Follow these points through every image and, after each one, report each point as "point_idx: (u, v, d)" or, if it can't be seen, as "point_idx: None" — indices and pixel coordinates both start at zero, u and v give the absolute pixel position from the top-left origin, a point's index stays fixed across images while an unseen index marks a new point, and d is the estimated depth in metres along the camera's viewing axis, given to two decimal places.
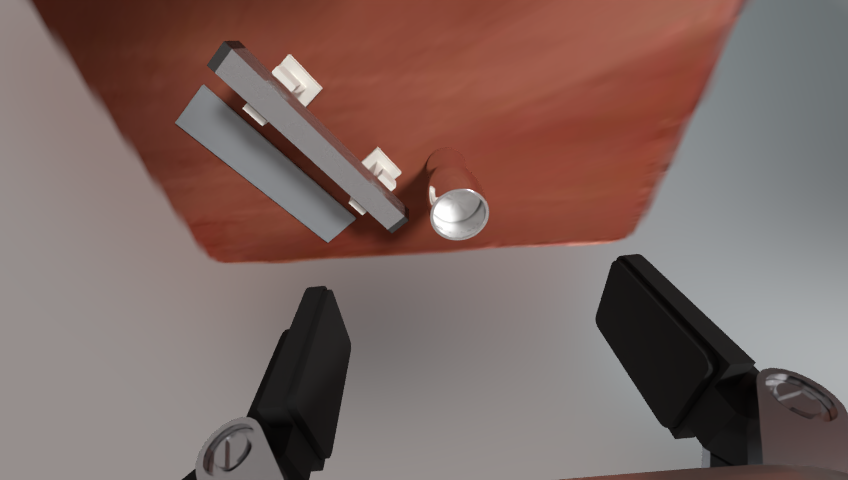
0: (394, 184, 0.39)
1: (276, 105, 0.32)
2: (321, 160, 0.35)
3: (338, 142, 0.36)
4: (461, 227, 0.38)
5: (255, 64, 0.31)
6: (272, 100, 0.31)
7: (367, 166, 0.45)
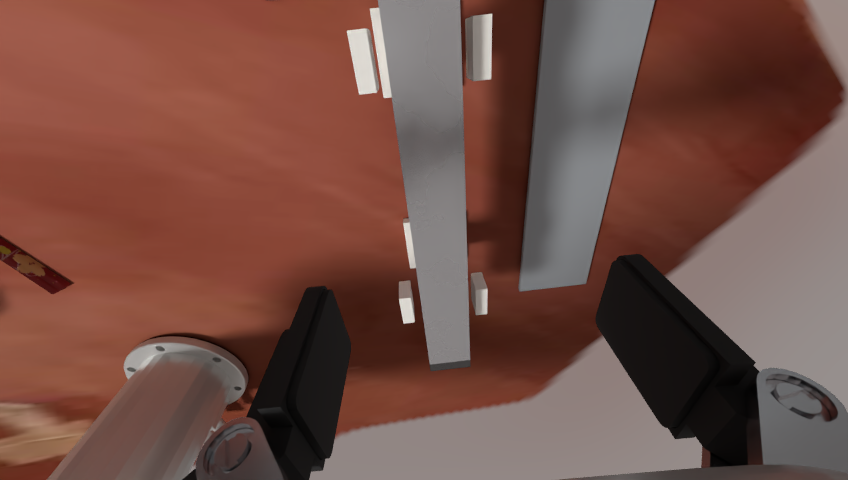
0: None
1: (438, 308, 0.20)
2: (450, 213, 0.16)
3: None
4: None
5: None
6: (437, 314, 0.20)
7: None
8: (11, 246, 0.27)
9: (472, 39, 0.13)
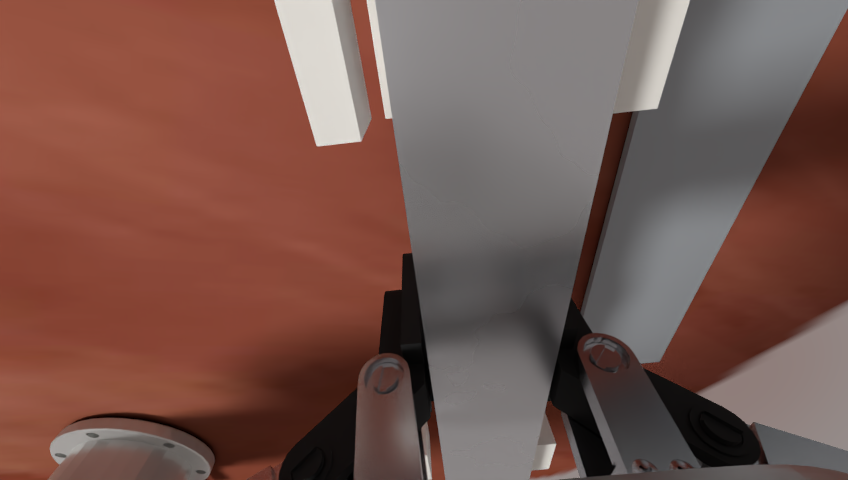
0: None
1: None
2: (520, 381, 0.08)
3: None
4: None
5: None
6: None
7: None
8: None
9: None
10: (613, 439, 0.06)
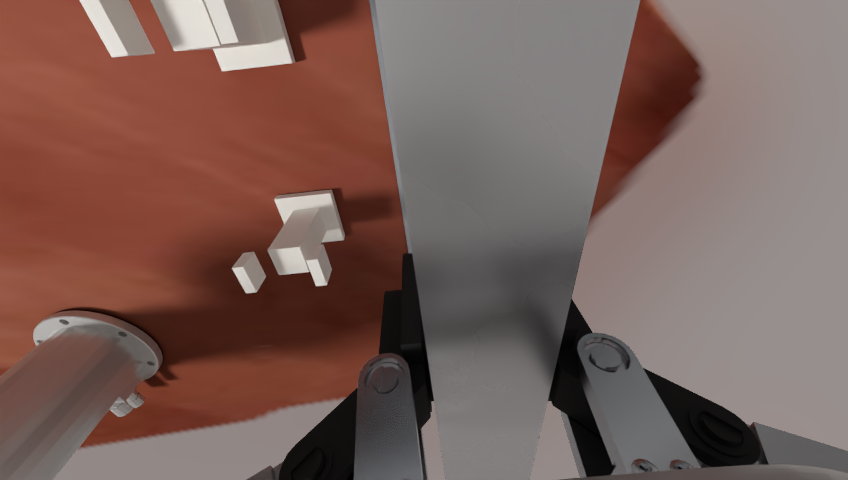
0: None
1: None
2: (521, 381, 0.08)
3: None
4: None
5: None
6: None
7: (258, 50, 0.21)
8: None
9: (207, 1, 0.14)
10: (613, 439, 0.06)
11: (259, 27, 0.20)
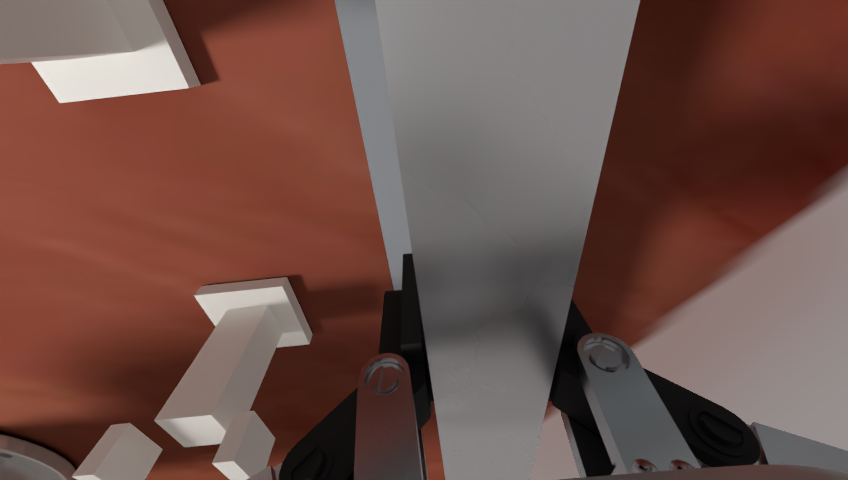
0: None
1: None
2: (520, 381, 0.08)
3: None
4: None
5: None
6: None
7: (120, 65, 0.11)
8: None
9: None
10: (613, 439, 0.06)
11: (109, 20, 0.10)
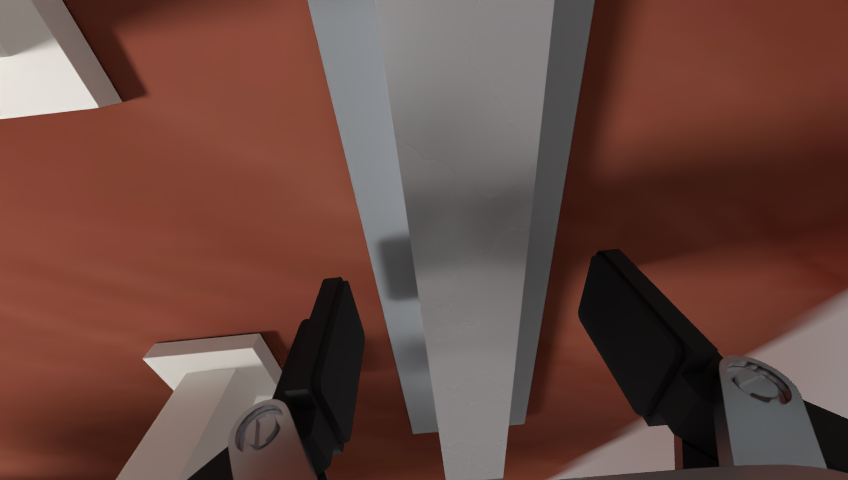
0: None
1: (463, 429, 0.13)
2: (494, 318, 0.09)
3: None
4: None
5: None
6: (461, 436, 0.14)
7: None
8: None
9: None
10: None
11: None
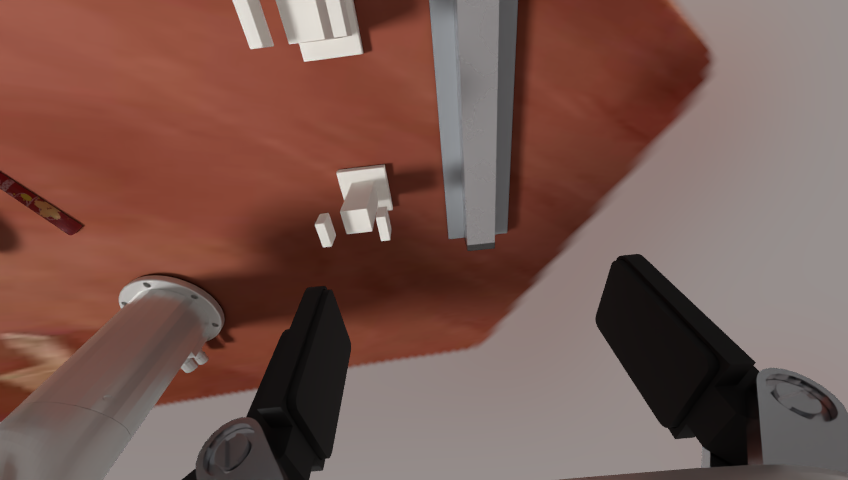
0: None
1: (476, 198, 0.31)
2: (487, 128, 0.27)
3: (459, 124, 0.29)
4: None
5: (465, 224, 0.34)
6: (475, 203, 0.31)
7: (335, 43, 0.25)
8: (31, 194, 0.33)
9: None
10: None
11: None
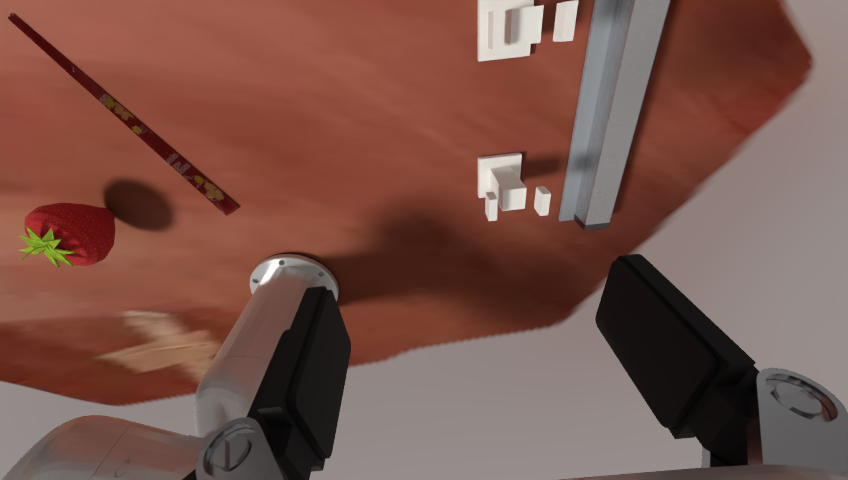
0: (492, 14, 0.22)
1: (603, 182, 0.36)
2: (629, 120, 0.32)
3: (596, 117, 0.34)
4: None
5: (582, 206, 0.39)
6: (601, 187, 0.36)
7: (509, 46, 0.30)
8: (203, 176, 0.37)
9: (564, 15, 0.22)
10: None
11: None
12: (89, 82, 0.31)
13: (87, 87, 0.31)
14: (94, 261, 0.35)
